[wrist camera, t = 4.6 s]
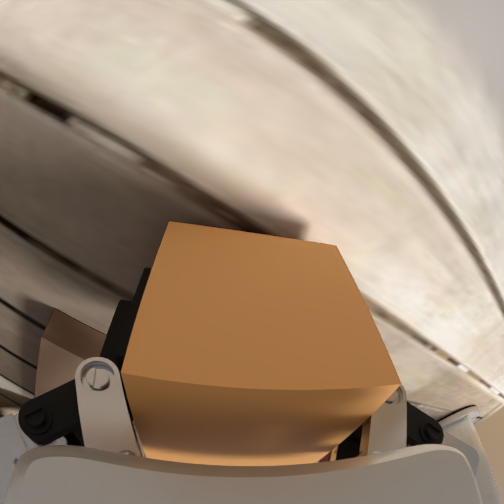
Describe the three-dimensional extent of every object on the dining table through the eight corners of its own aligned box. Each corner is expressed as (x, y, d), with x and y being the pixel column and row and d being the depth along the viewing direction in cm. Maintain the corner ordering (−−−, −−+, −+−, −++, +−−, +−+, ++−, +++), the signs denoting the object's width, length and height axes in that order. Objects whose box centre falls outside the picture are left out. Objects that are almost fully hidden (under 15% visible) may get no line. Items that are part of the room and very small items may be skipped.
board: (256, 392, 18) (265, 486, 12) (160, 450, 24) (157, 506, 19) (55, 308, 13) (10, 414, 8) (38, 404, 20) (22, 462, 14)
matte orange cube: (336, 245, 11) (401, 384, 6) (291, 350, 14) (312, 465, 9) (169, 221, 10) (120, 372, 5) (165, 337, 13) (147, 460, 8)
